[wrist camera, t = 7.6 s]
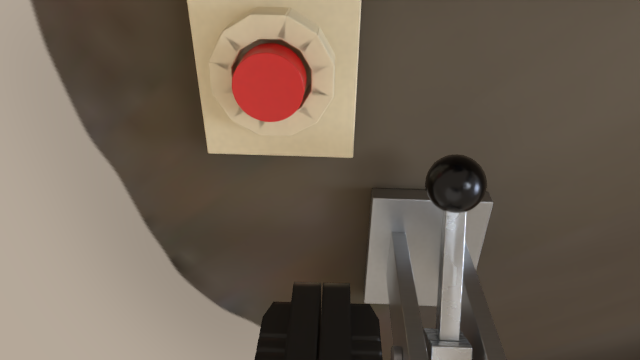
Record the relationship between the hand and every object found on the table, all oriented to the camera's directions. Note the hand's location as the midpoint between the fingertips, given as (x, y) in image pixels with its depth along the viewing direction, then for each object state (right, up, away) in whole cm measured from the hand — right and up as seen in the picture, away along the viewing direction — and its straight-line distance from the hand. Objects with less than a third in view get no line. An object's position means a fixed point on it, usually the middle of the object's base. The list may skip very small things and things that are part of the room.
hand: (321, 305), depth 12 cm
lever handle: (+7, -2, +14) cm, 16 cm away
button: (-2, +9, +12) cm, 15 cm away
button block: (-2, +11, +15) cm, 18 cm away
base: (+7, -2, +22) cm, 23 cm away
